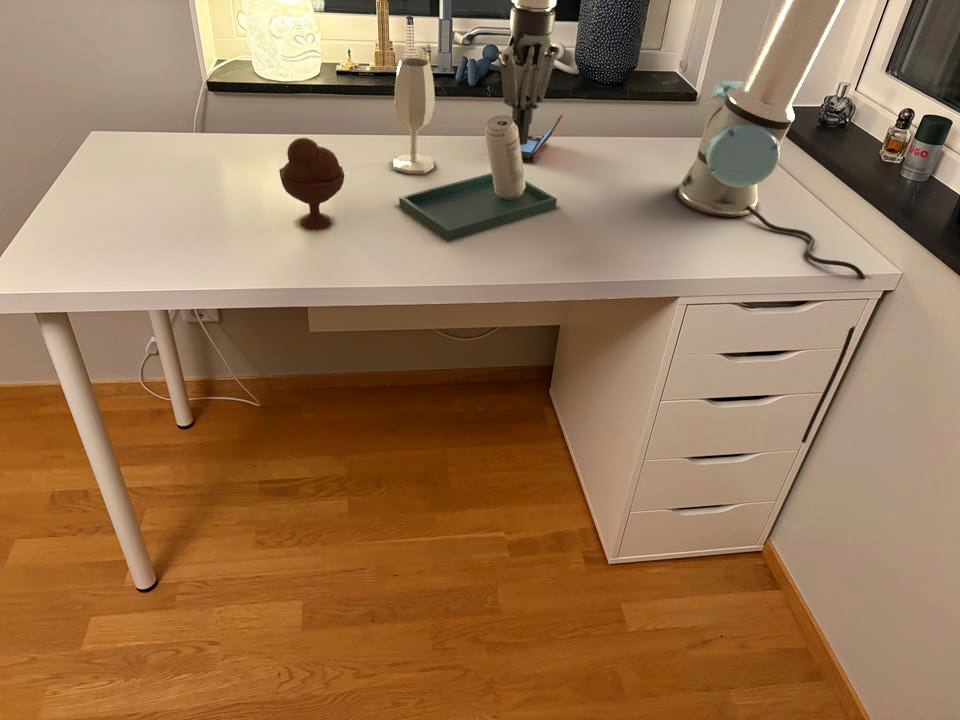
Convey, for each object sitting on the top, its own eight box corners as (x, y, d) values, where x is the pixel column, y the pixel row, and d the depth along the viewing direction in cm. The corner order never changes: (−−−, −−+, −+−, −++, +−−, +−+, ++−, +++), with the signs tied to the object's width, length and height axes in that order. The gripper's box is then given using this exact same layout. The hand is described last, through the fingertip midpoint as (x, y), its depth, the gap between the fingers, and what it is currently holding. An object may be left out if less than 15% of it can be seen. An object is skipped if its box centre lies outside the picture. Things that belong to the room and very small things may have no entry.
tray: (555, 208, 146) (557, 198, 145) (448, 241, 132) (448, 231, 131) (504, 178, 155) (505, 169, 154) (399, 206, 142) (399, 196, 141)
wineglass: (428, 177, 153) (431, 71, 140) (387, 171, 154) (386, 65, 141) (439, 161, 160) (442, 58, 147) (399, 155, 161) (399, 52, 148)
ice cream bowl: (287, 239, 129) (278, 155, 120) (282, 210, 138) (274, 129, 129) (349, 235, 132) (346, 152, 123) (341, 206, 140) (337, 127, 131)
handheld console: (513, 138, 173) (516, 105, 169) (559, 146, 171) (564, 113, 167) (498, 157, 164) (501, 123, 159) (547, 166, 162) (551, 132, 157)
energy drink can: (506, 180, 150) (495, 111, 139) (531, 186, 147) (523, 116, 136) (489, 197, 147) (477, 128, 136) (515, 204, 144) (505, 134, 133)
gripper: (518, 15, 122) (505, 155, 136) (577, 8, 129) (558, 142, 143) (489, 4, 126) (479, 141, 141) (547, -2, 133) (532, 129, 148)
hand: (519, 141), depth 142 cm, fingers closed
